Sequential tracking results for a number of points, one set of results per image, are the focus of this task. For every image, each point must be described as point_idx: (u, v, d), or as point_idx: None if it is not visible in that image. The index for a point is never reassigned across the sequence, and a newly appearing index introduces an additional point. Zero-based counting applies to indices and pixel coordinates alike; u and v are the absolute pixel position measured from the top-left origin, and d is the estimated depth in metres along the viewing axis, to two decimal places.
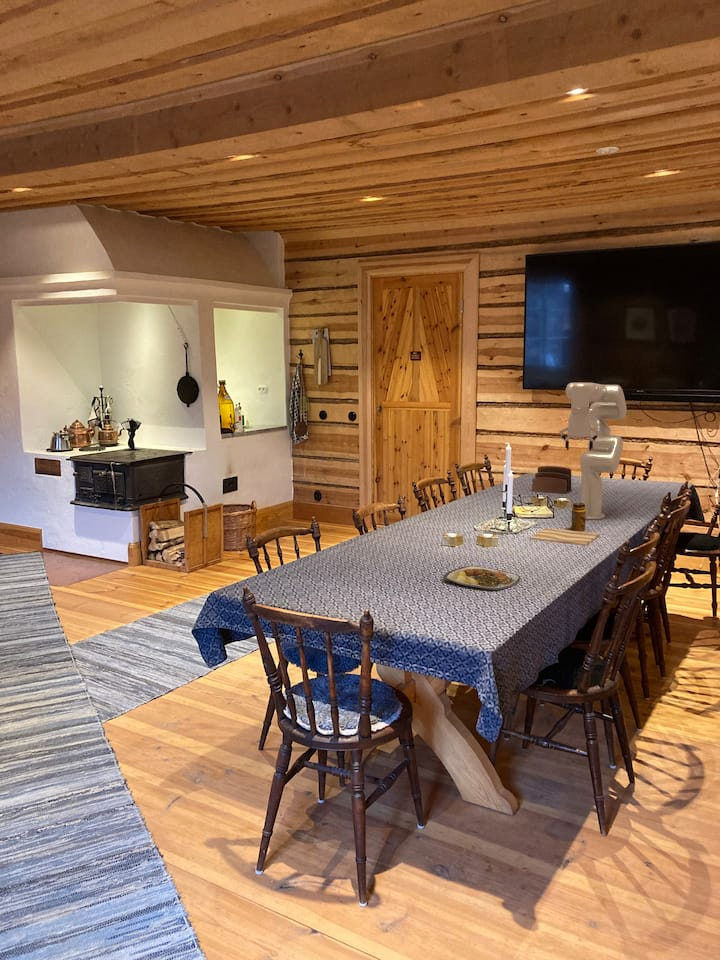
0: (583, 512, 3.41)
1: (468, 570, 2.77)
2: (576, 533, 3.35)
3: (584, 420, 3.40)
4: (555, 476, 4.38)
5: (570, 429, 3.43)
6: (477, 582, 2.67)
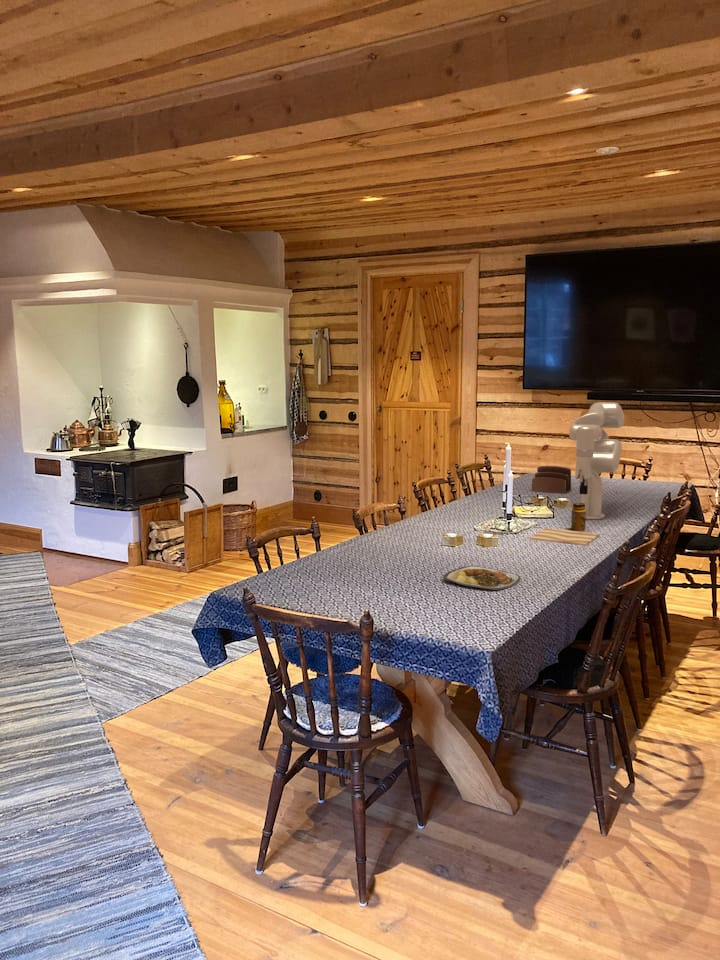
0: (583, 512, 3.41)
1: (468, 570, 2.77)
2: (576, 533, 3.35)
3: (591, 461, 3.49)
4: (555, 476, 4.38)
5: (586, 472, 3.44)
6: (477, 582, 2.67)
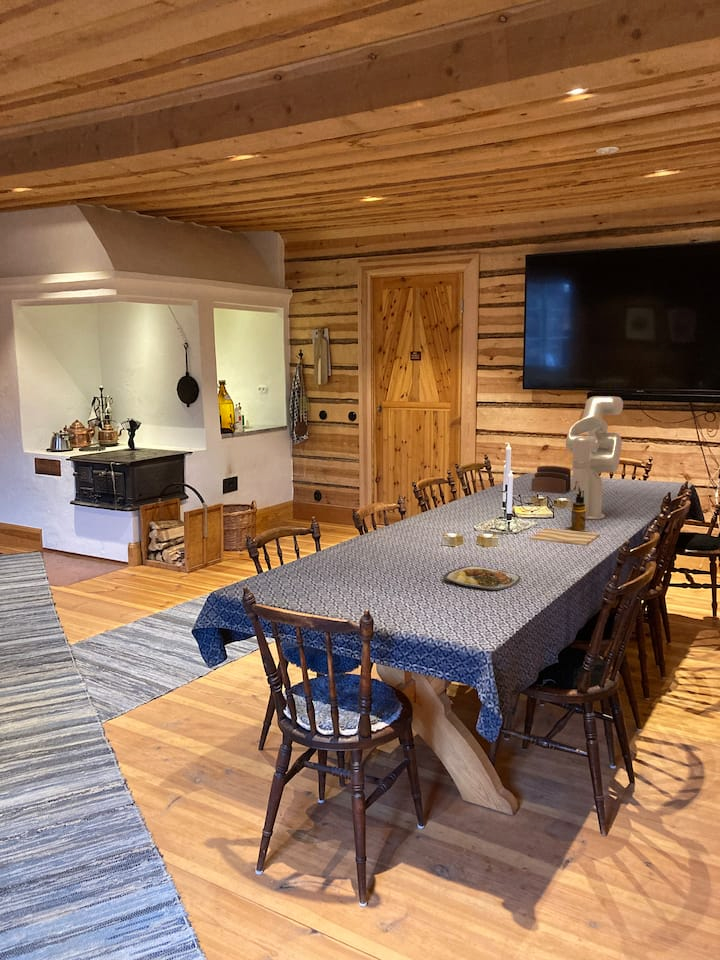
0: (583, 512, 3.40)
1: (468, 570, 2.77)
2: (576, 533, 3.35)
3: (587, 473, 3.45)
4: (554, 476, 4.39)
5: (582, 483, 3.40)
6: (477, 582, 2.67)
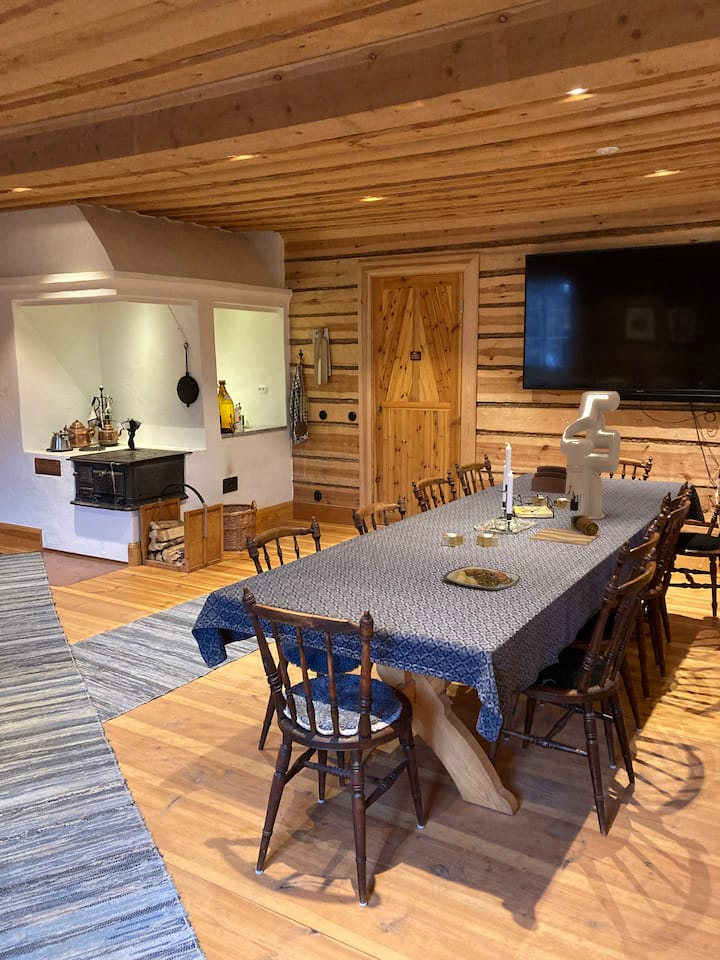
0: None
1: (468, 570, 2.77)
2: (576, 533, 3.35)
3: (581, 477, 3.38)
4: (554, 476, 4.39)
5: (576, 488, 3.34)
6: (477, 582, 2.67)
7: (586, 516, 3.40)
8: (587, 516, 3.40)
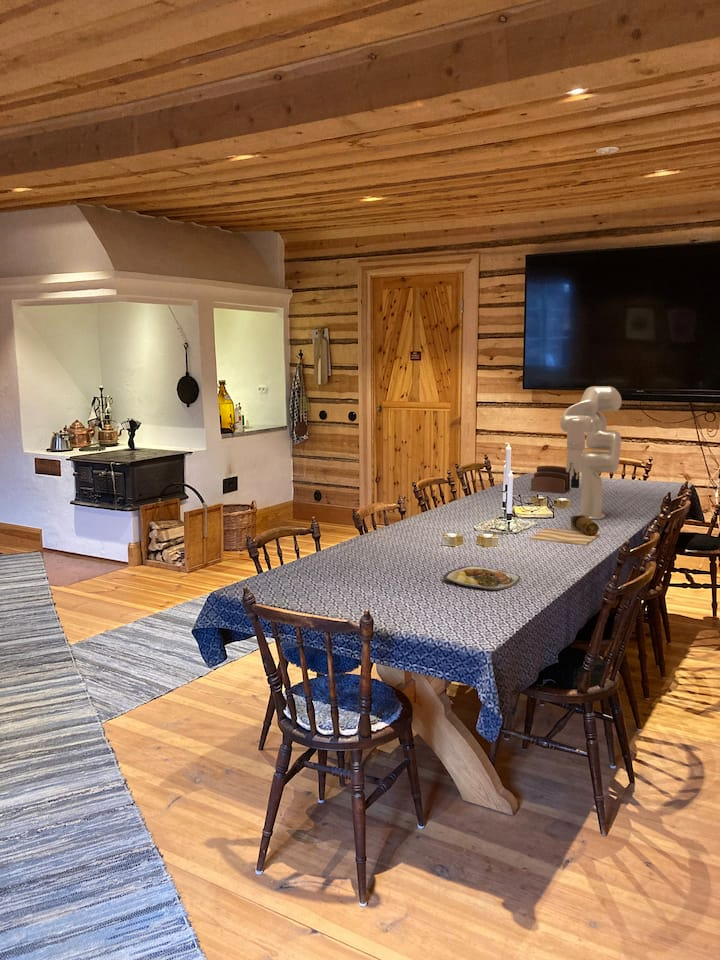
0: None
1: (468, 570, 2.77)
2: (576, 533, 3.35)
3: (582, 454, 3.36)
4: (554, 476, 4.39)
5: (577, 465, 3.32)
6: (477, 582, 2.67)
7: (586, 516, 3.40)
8: (587, 516, 3.40)
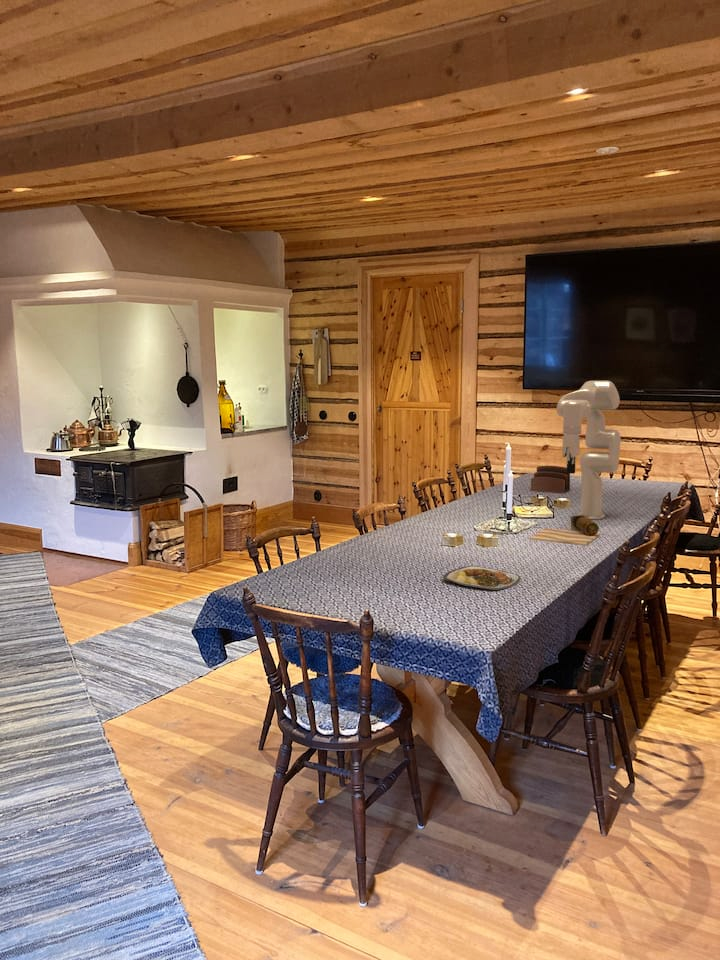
0: None
1: (468, 570, 2.77)
2: (576, 533, 3.35)
3: (578, 438, 3.30)
4: (554, 476, 4.40)
5: (573, 449, 3.26)
6: (477, 582, 2.67)
7: (586, 516, 3.40)
8: (587, 516, 3.40)
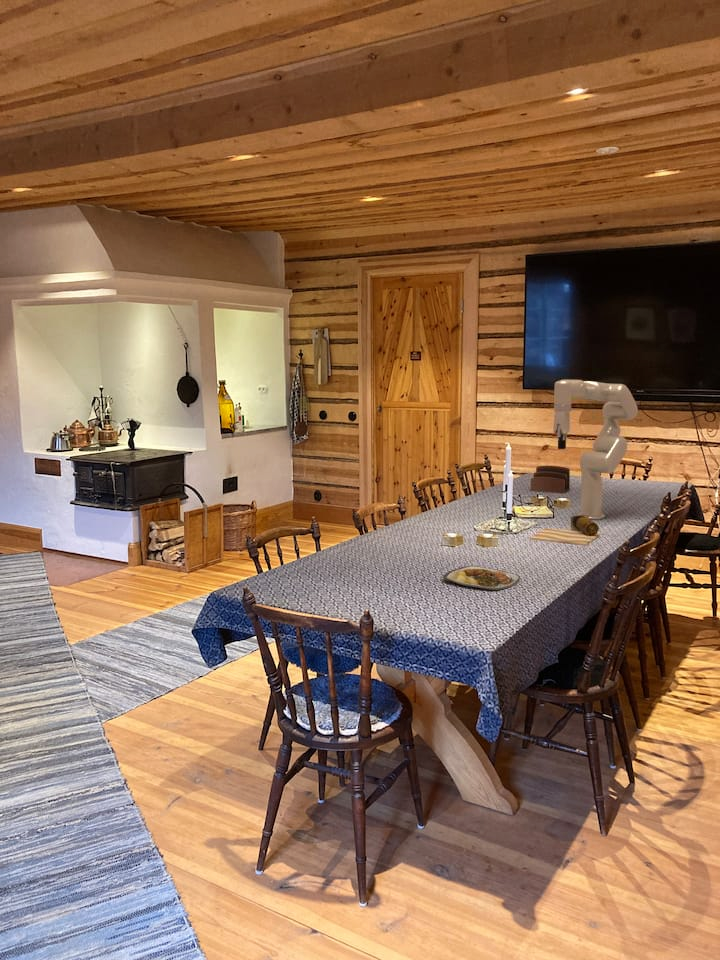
0: None
1: (468, 570, 2.77)
2: (576, 533, 3.35)
3: (569, 416, 3.49)
4: (553, 475, 4.40)
5: (564, 426, 3.45)
6: (477, 582, 2.67)
7: (586, 516, 3.40)
8: (587, 516, 3.40)
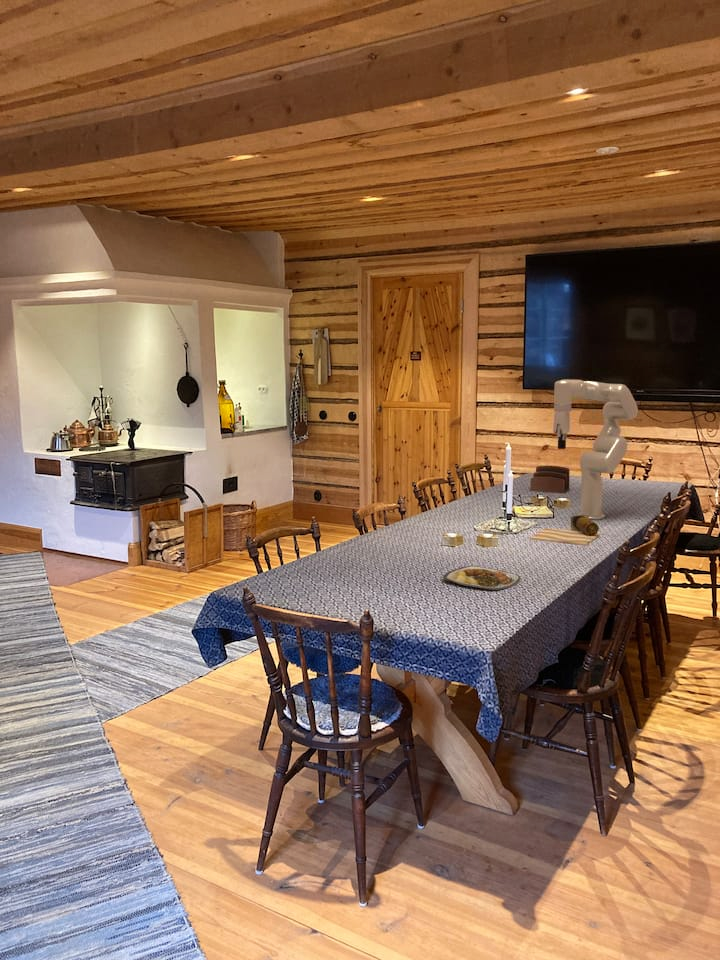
0: None
1: (468, 570, 2.77)
2: (576, 533, 3.35)
3: (569, 416, 3.49)
4: (553, 475, 4.40)
5: (564, 426, 3.45)
6: (477, 582, 2.67)
7: (586, 516, 3.40)
8: (587, 516, 3.40)
